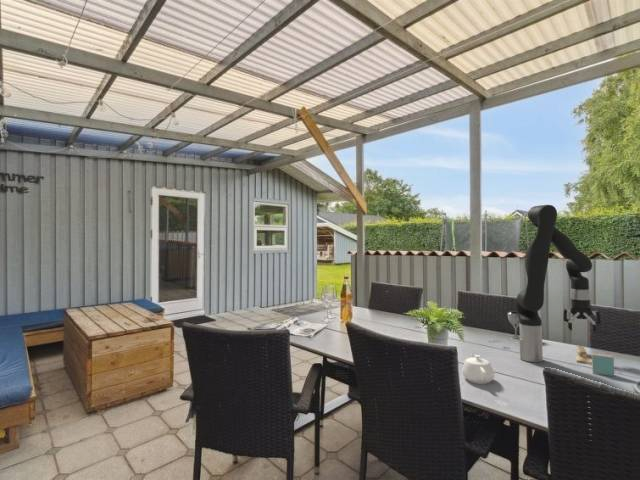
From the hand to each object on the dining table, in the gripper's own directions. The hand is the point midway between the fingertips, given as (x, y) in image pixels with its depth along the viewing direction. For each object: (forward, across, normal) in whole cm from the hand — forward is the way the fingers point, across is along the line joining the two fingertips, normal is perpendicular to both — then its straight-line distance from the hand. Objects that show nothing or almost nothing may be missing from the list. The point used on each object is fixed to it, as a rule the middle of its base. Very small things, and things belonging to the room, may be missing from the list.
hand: (581, 331), depth 163 cm
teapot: (+12, -40, -52) cm, 67 cm away
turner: (+13, 0, -2) cm, 13 cm away
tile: (+9, +5, -21) cm, 23 cm away
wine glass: (+13, -29, +23) cm, 39 cm away
